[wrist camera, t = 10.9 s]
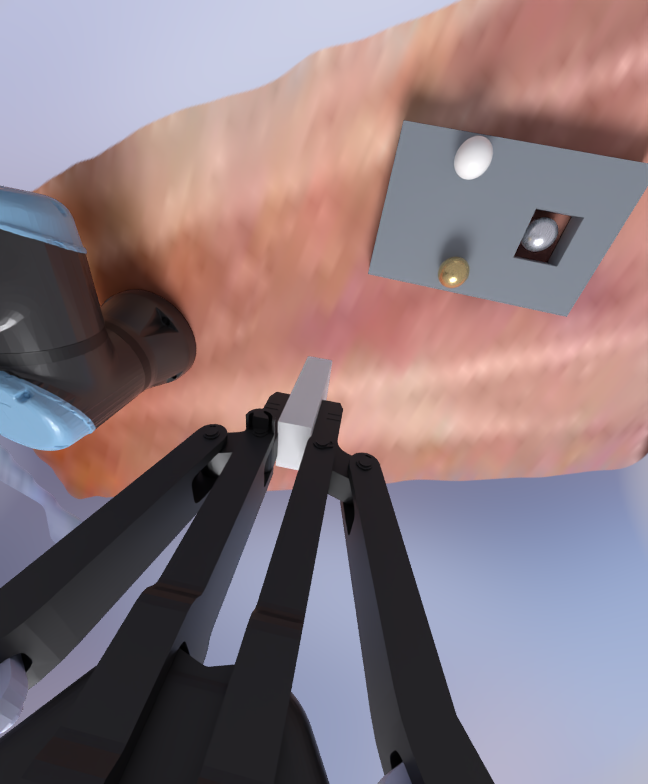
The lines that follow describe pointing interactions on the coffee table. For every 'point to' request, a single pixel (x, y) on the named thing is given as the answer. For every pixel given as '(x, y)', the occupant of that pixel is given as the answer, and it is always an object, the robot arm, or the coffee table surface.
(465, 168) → the white ball
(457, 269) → the brass ball
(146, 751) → the robot arm
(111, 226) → the coffee table surface
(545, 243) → the steel ball
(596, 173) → the board
